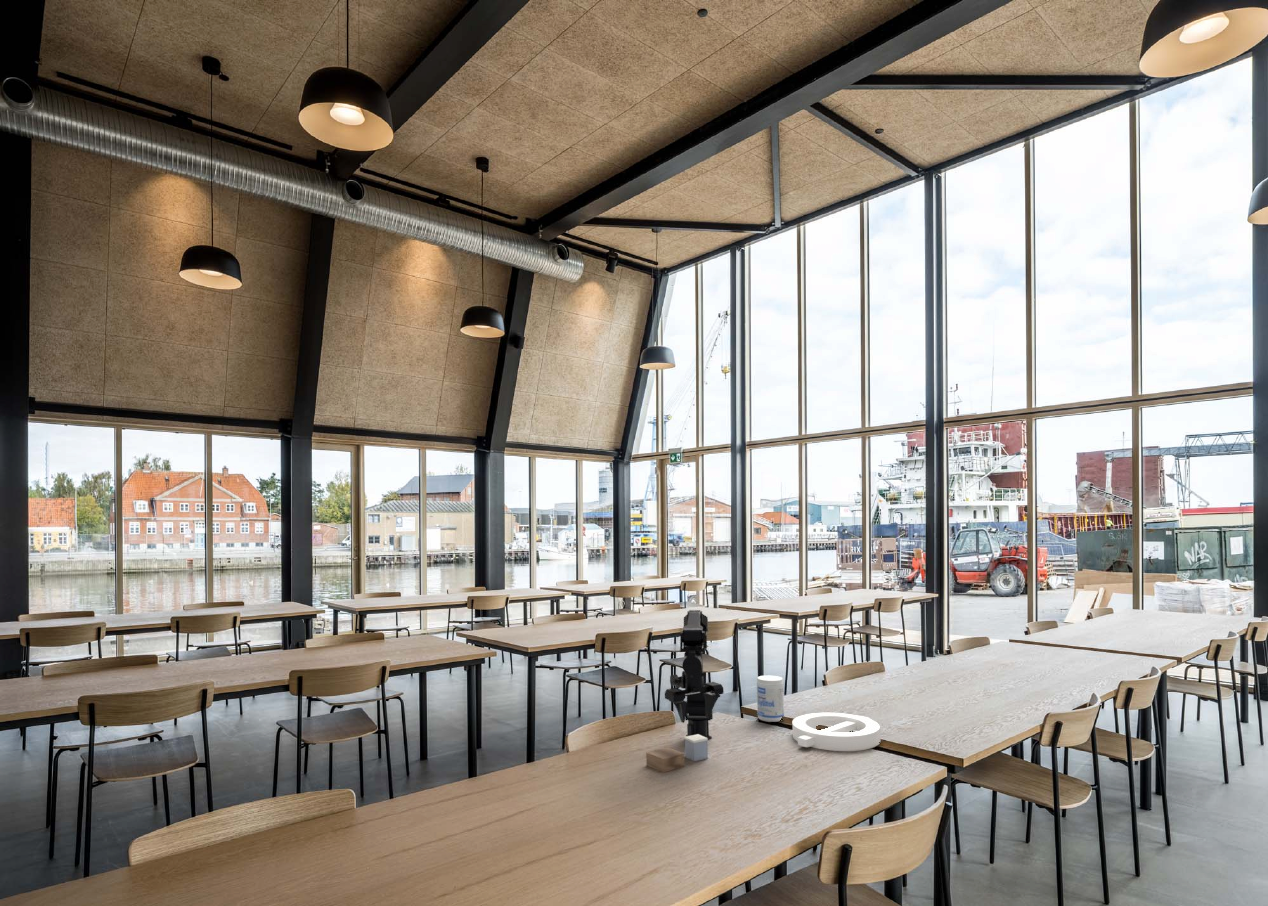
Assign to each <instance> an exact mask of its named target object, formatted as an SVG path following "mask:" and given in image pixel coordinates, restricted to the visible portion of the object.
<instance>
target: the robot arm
mask: <svg viewBox="0 0 1268 906" xmlns="http://www.w3.org/2000/svg"><path fill="white" fill-rule="evenodd" d="M708 632H709V619H708V616H707V615H705V614H703V611H702V610H700V609H698V610H697V609H689V610H687V613H686V615H685V616H684V617H683V627H682V631H680V640H679V641H680V642H679V643H680V646H679V650H680V653H683V655H684V656H683V657H684V658H683V662H682V664H681V665H682V669H683V671H681V676H678V674H672V675H669V677H670V678H669V684H670V686H671V687H672V688H666V690H665V692H664V699H666V700H668V701H669V702H671V703H672V704H674V706H675V708H676V711H677V713H678V716H679V719H680V722H681V723H683V724H685V721H687V725H686V727H687V729H686V730H687V731H686V735H685V737H686V736H691V735H696V734H699V735H701V736H704V737H706V738H708V740H709V739H710V740H711V739H712V735H710V732H709V731H710V729H709V726H710V724H709V721H712V720H713V715H714V714H713V709H714V707H715V704H716V703H717V701H718V699H719V698H720V697H721V695H723V694H725V693H724V687H723V685H722V684H721V683H718V682H715V681H711V682H704V677H706V676H707V675H706V672H705V671H704V665H703V664H704V661H703V660H704V658H703V653H705V652H706V649H708V634H707V633H708ZM674 686H675V687H674ZM685 699H686V700H685Z"/></svg>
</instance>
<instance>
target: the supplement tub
mask: <svg viewBox="0 0 1268 906" xmlns="http://www.w3.org/2000/svg"><path fill="white" fill-rule="evenodd" d="M784 698H785V697H784V681H783V677H782V676H777V675H768V674H767V675H760V676H757V680H756V705H757V712H756V713H757V718H758V719H759V720H760V721H763V722H768V723H771V722H774V723H776V722H777V723H778V722H781V721H782V720H781V718H782V716H784V717H785V707H784V705H785V704H784V702H785V699H784ZM780 720H781V721H780Z"/></svg>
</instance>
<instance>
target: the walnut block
mask: <svg viewBox="0 0 1268 906" xmlns="http://www.w3.org/2000/svg"><path fill="white" fill-rule="evenodd" d="M645 755H646V756H645V757H646V766H648V767H650V768H651V769H655V770H657V771H659V772H662V773H667V772H670V771H673V770H676V769H680V768H682V767H685V752H682V751H680V750H676V749H673V748H671V747H668V746H665V747H662V748H658V749H654V750H650V751H647V752H646V753H645Z"/></svg>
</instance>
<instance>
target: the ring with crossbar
mask: <svg viewBox="0 0 1268 906" xmlns="http://www.w3.org/2000/svg"><path fill="white" fill-rule="evenodd" d="M791 723H792V737H793V739H794V740H795V741H796V742H797V745H798V746H800V747H803V748H810V747H811V748H814V749H820V750H826V751H836V752H857V751H858V752H859V751H864V750H868V749H873V748H875V747H877V746H878V745H880V743H881V728H880V724H879V723H878V722H877V721H875V720H873V719H871V718H870V717H868V716H863V715H857V714H852V713H851V714H849V713H843V712H816V713H815V712H813V713H806V714H803V715H798V716H797V717H795V718H793V719H792V722H791ZM818 725H834V726H831V727H828V728H825V729H821V730H817V729H816V726H818ZM852 730H860V731H855V732H852ZM849 731H851V732H849ZM879 742H880V743H879Z"/></svg>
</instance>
